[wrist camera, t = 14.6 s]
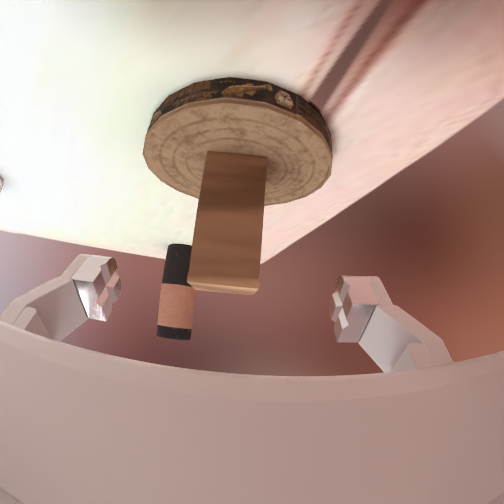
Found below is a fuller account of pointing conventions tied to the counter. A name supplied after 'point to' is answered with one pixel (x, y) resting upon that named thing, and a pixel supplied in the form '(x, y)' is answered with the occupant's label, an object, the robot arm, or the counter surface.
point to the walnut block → (229, 224)
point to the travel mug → (176, 295)
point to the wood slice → (240, 136)
